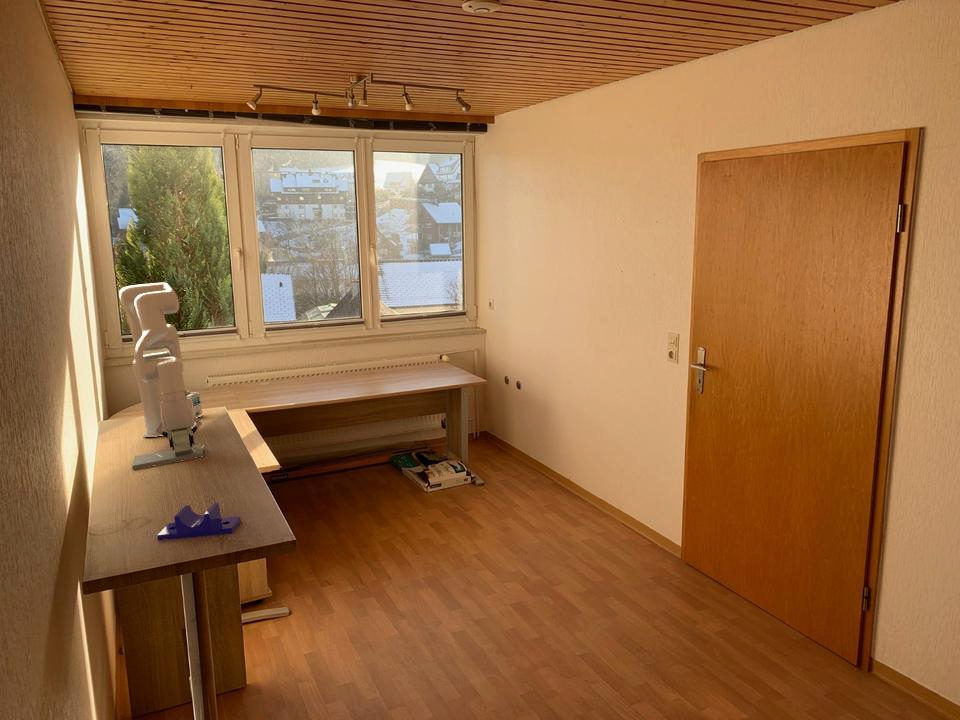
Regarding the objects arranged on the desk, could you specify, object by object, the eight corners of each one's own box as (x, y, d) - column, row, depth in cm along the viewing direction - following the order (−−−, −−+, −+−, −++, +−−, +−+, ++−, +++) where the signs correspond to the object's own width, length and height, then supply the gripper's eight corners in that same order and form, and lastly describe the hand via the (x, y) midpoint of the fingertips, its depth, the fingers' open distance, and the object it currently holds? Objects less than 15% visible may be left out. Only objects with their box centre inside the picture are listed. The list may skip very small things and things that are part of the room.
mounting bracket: (158, 542, 173) (154, 518, 172) (169, 529, 180) (166, 507, 179) (232, 534, 174) (228, 511, 172) (241, 523, 181) (237, 500, 180)
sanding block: (175, 450, 248) (172, 427, 246) (191, 447, 250) (187, 425, 248) (175, 456, 239) (171, 433, 238) (191, 453, 241) (187, 431, 240)
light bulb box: (203, 416, 304) (199, 391, 302) (195, 420, 297) (191, 395, 295) (180, 417, 305) (175, 393, 303) (171, 421, 298) (167, 396, 297)
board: (135, 460, 245) (134, 456, 244) (204, 448, 253) (204, 443, 252) (132, 470, 234) (132, 465, 233) (205, 456, 242) (205, 452, 241)
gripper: (200, 390, 248) (208, 440, 251) (147, 398, 241) (156, 449, 245) (201, 394, 241) (209, 445, 244) (146, 402, 235) (155, 455, 238)
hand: (182, 447), depth 244 cm, fingers closed on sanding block, 5 cm apart
